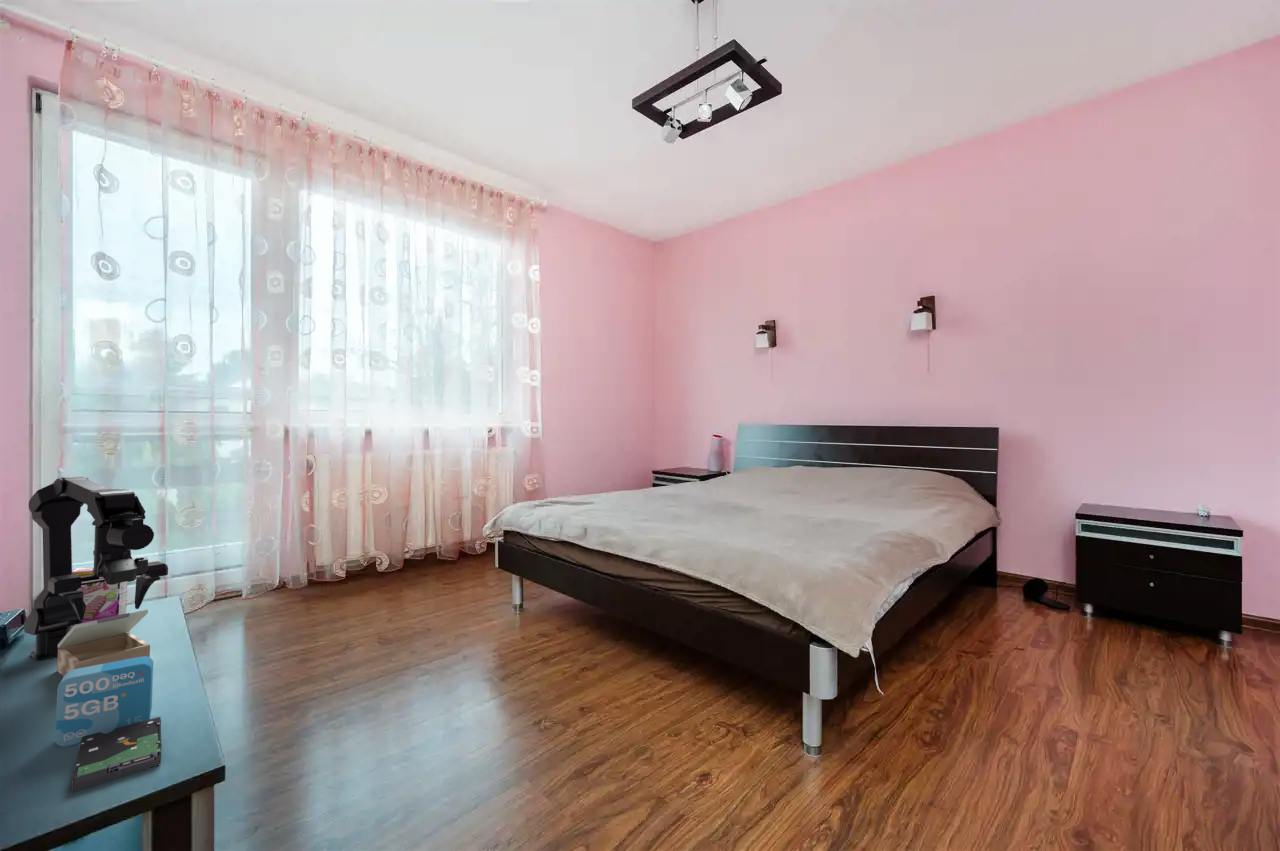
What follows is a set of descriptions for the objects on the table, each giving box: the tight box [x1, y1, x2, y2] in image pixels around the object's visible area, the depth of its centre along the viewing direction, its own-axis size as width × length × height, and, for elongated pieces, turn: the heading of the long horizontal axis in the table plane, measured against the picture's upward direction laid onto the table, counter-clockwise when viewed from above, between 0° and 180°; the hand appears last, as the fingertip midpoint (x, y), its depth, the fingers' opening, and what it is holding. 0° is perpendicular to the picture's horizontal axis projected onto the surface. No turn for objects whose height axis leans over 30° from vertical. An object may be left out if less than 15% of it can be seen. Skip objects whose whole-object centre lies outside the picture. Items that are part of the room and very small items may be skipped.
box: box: [56, 631, 151, 677], centre depth 121 cm, size 14×12×5 cm
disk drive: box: [71, 716, 163, 793], centre depth 89 cm, size 10×3×15 cm
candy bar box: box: [71, 566, 128, 629], centre depth 146 cm, size 11×5×16 cm, turn 115°
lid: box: [58, 609, 149, 648], centre depth 122 cm, size 16×12×1 cm
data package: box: [55, 656, 154, 747], centre depth 96 cm, size 12×4×12 cm, turn 130°
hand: (110, 614), depth 120 cm, fingers open, 9 cm apart
